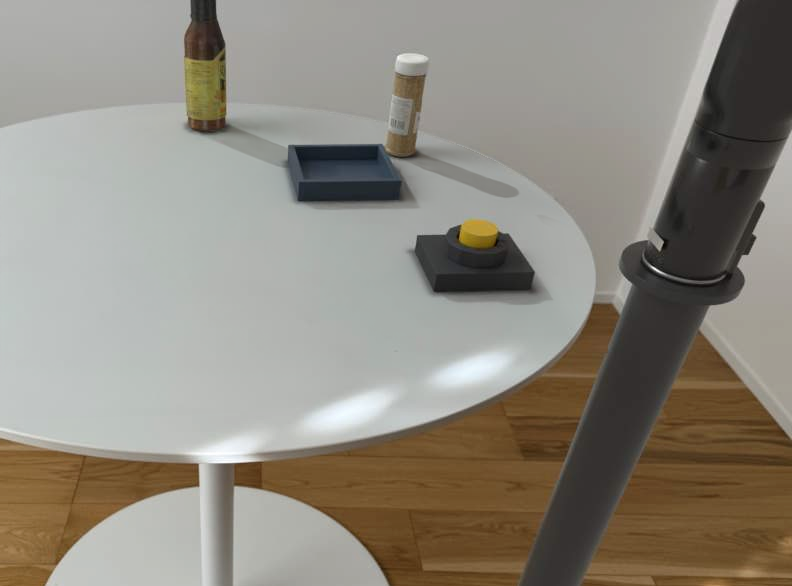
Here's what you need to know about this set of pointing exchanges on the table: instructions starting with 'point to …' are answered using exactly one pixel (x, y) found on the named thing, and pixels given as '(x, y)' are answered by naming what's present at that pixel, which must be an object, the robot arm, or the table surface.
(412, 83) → the spice jar
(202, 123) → the sauce bottle
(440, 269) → the button housing
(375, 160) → the tray
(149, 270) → the table surface
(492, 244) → the trigger button
